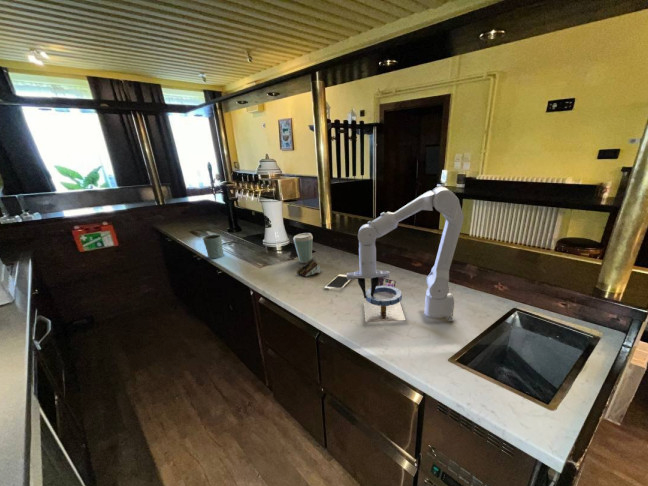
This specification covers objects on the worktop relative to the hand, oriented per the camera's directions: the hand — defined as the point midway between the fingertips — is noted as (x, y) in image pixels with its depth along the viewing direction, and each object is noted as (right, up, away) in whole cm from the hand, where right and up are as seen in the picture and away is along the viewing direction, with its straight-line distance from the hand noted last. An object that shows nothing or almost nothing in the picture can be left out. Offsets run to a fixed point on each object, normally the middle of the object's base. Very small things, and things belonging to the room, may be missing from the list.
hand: (368, 296), depth 107 cm
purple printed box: (+9, +1, +20) cm, 22 cm away
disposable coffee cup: (-32, +18, +60) cm, 70 cm away
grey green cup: (-88, +22, +76) cm, 118 cm away
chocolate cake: (-26, +10, +43) cm, 52 cm away
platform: (+6, -7, +4) cm, 9 cm away
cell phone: (-11, +5, +31) cm, 33 cm away
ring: (+5, 0, 0) cm, 5 cm away
